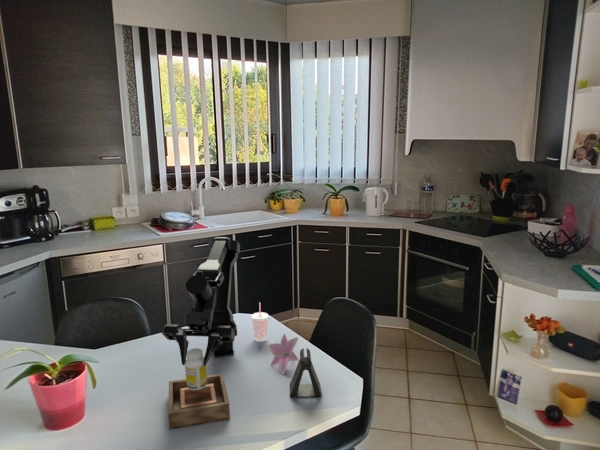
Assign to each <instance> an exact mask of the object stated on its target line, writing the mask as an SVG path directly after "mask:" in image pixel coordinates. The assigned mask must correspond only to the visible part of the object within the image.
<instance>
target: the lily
mask: <svg viewBox="0 0 600 450" xmlns="http://www.w3.org/2000/svg"><path fill="white" fill-rule="evenodd" d="M281 337H282V338H281V340H280V343H275V342H274V343H270V344H268V348H269V351H270V352H271V354H272V355H273V359H272V361H271V363H270V367H274V366H276V365H277V366H278V369H279V372H280V374H281V375H282V376H284V374H285V372H286V369H287V366H288V362H299V358H298V357H297V355H296V353H295V352H294V348H295V347H296V345H297V343H298V341H299V337H294V338H291V339H289V340H288V338H287V336H286V333H283V334H282V336H281Z"/></svg>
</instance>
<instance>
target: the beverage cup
mask: <svg viewBox="0 0 600 450" xmlns="http://www.w3.org/2000/svg"><path fill="white" fill-rule="evenodd" d="M258 305H259V307H258V308H259V309H258V310H259V311H258V312H253V314H251V319H252V331H253V340H254V341H255V340H256V341H255V342H258V341H262V342H265V341H267V338H268V319H269V314H268V313H267V312H263V311H261V309H262V308H261V302H259V303H258Z"/></svg>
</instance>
